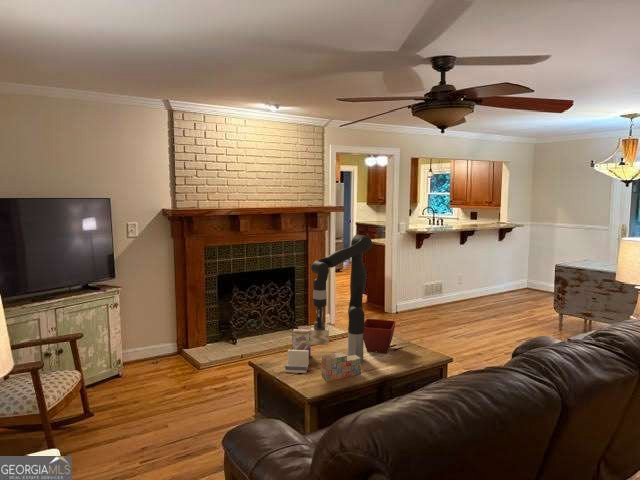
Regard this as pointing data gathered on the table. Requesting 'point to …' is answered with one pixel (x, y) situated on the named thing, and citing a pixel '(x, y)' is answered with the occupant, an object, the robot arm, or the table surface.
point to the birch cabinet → (319, 335)
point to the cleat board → (297, 361)
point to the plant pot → (378, 335)
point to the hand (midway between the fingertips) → (319, 327)
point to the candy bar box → (301, 340)
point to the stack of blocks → (340, 366)
